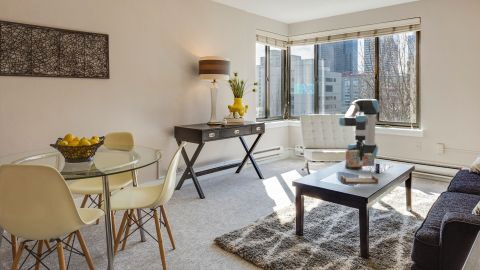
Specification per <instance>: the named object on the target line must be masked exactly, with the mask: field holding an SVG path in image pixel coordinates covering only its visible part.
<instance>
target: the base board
mask: <svg viewBox="0 0 480 270" xmlns="http://www.w3.org/2000/svg"><path fill="white" fill-rule="evenodd" d="M340 181H342V183H343V184H357V185H358V184H364V185H365V184H369V185H370V184H371V185H372V184H373V185H374V184H375V185H378V184H379V178H378V177H376V176H375V174H371V177H345V175H344V174H340Z"/></svg>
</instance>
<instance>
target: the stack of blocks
mask: <svg viewBox="0 0 480 270" xmlns="http://www.w3.org/2000/svg"><path fill="white" fill-rule="evenodd" d="M359 156H360V154H359V150H345V164H346V166H348V167H360V166H362V167H374V166H375V158H374V154H371V153H364V156H363V165H359Z"/></svg>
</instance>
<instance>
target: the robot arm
mask: <svg viewBox="0 0 480 270" xmlns="http://www.w3.org/2000/svg"><path fill="white" fill-rule="evenodd" d="M379 112H380V102H379V100H377V99H375V98H374V99H373V98H365V99H364V98H361V99H356V100H354V101H353V102H351V103H350V104H349V106H348V109H347V111H346V113H345V114H344V116H340V117H339V119H338V120H339V121H338V124H339V126H340V127H342V126H343V127H355V131H354V133H355V138H354V139H355V141H356V142H354V143H350V144H348V145H347V150H346V151H348V150H359V154H360V156H359V165H363V156H364V153H371V154H374V159H376V158H377V157H378V150H379V146H378V145H377V143H376V140H375V139H376V116H378V113H379ZM357 113H363V115H361V114H360V115H359V114H358V115H356V114H357ZM344 168H346V169H348V170H361V169H363V166H360V167H348V166H346V163H345V165H344Z"/></svg>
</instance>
